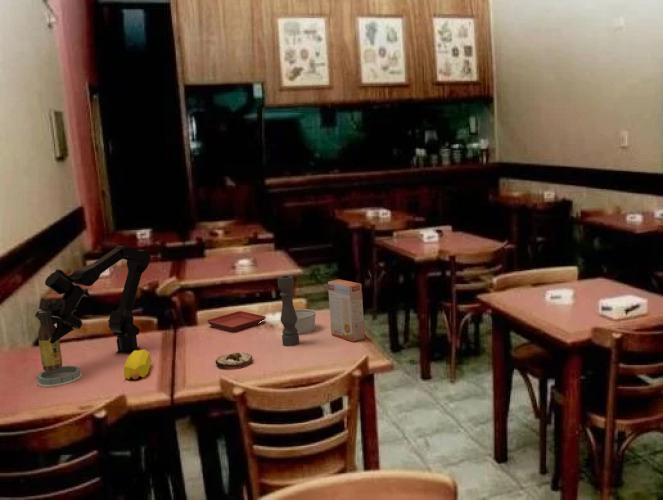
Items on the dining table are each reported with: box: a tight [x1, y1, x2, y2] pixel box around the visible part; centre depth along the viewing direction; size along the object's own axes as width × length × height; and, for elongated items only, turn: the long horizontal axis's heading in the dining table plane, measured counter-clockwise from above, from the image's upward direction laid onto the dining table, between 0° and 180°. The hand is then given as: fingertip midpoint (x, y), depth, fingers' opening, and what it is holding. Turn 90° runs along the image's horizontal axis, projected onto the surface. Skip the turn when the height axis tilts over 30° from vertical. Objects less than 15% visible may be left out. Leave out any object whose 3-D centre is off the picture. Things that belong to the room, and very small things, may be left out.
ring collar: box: [36, 365, 83, 388], centre depth 215 cm, size 14×14×2 cm
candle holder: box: [277, 274, 300, 347], centre depth 234 cm, size 6×6×25 cm
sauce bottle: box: [37, 309, 63, 371], centre depth 214 cm, size 7×6×20 cm
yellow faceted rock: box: [123, 348, 153, 380], centre depth 216 cm, size 18×7×8 cm
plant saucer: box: [206, 310, 267, 333], centre depth 267 cm, size 18×18×3 cm
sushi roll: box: [215, 351, 253, 371], centre depth 218 cm, size 15×15×4 cm
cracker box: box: [327, 279, 366, 343], centre depth 237 cm, size 14×6×21 cm, turn 34°
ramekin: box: [295, 308, 317, 335], centre depth 252 cm, size 13×13×7 cm
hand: (45, 342), depth 213 cm, fingers closed on sauce bottle, 6 cm apart
